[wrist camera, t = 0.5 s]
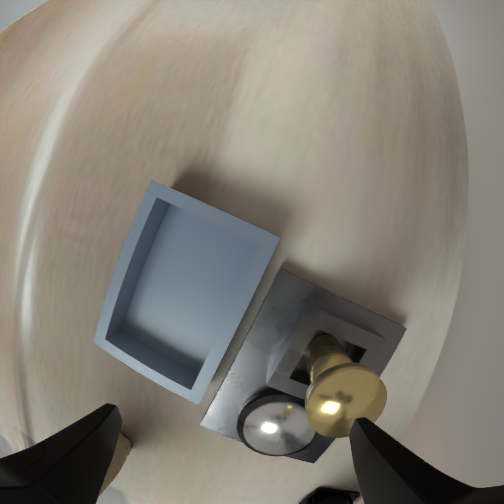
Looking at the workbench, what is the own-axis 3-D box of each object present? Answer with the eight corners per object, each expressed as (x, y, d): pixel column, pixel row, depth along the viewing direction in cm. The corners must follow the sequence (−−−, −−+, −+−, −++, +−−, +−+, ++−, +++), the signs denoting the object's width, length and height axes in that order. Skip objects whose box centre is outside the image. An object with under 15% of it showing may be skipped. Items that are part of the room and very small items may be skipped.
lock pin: (359, 338, 20) (401, 383, 11) (332, 383, 20) (357, 443, 12) (311, 317, 20) (335, 360, 12) (285, 365, 20) (291, 426, 12)
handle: (96, 415, 23) (20, 484, 8) (144, 436, 22) (79, 527, 8) (100, 441, 23) (37, 509, 8) (145, 462, 23) (92, 545, 8)
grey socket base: (400, 325, 20) (419, 336, 17) (312, 456, 21) (316, 478, 18) (279, 268, 21) (281, 272, 18) (203, 418, 22) (193, 439, 18)
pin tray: (278, 239, 21) (280, 237, 18) (208, 384, 22) (198, 405, 18) (169, 189, 22) (151, 179, 18) (114, 331, 22) (93, 342, 19)
